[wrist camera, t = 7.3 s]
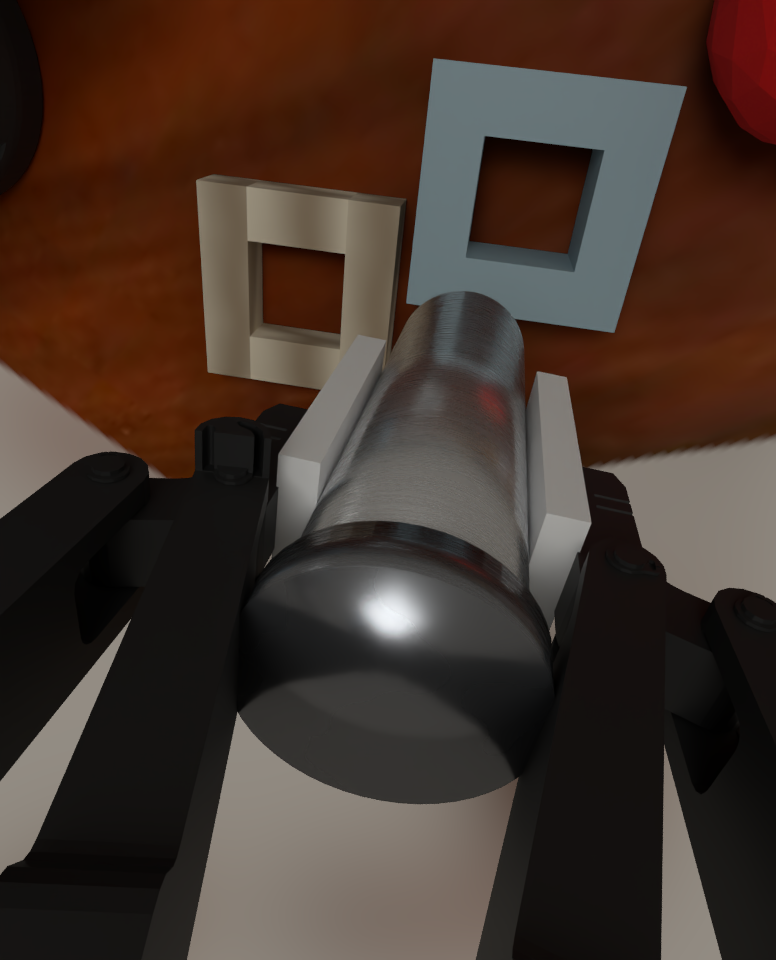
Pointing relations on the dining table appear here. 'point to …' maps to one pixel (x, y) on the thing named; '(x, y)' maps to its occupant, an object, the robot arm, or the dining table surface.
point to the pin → (412, 582)
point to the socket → (604, 202)
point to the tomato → (746, 62)
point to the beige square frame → (303, 224)
